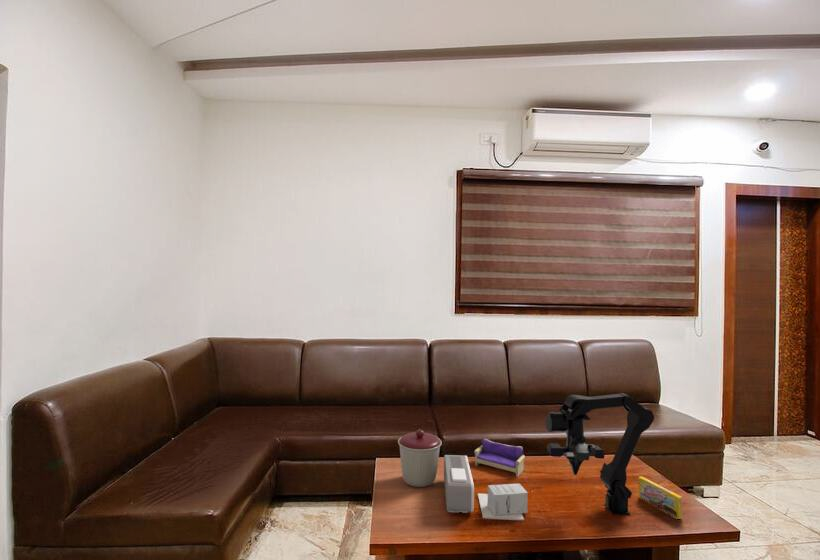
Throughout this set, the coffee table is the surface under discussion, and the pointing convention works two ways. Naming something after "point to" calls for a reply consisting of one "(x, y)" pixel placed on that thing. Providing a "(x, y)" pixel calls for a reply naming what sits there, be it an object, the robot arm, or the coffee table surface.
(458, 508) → the grey boxy piece
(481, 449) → the toy sofa
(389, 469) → the coffee table surface
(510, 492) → the supplement box
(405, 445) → the canister
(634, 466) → the coffee table surface
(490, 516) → the white flat panel
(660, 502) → the candy box
